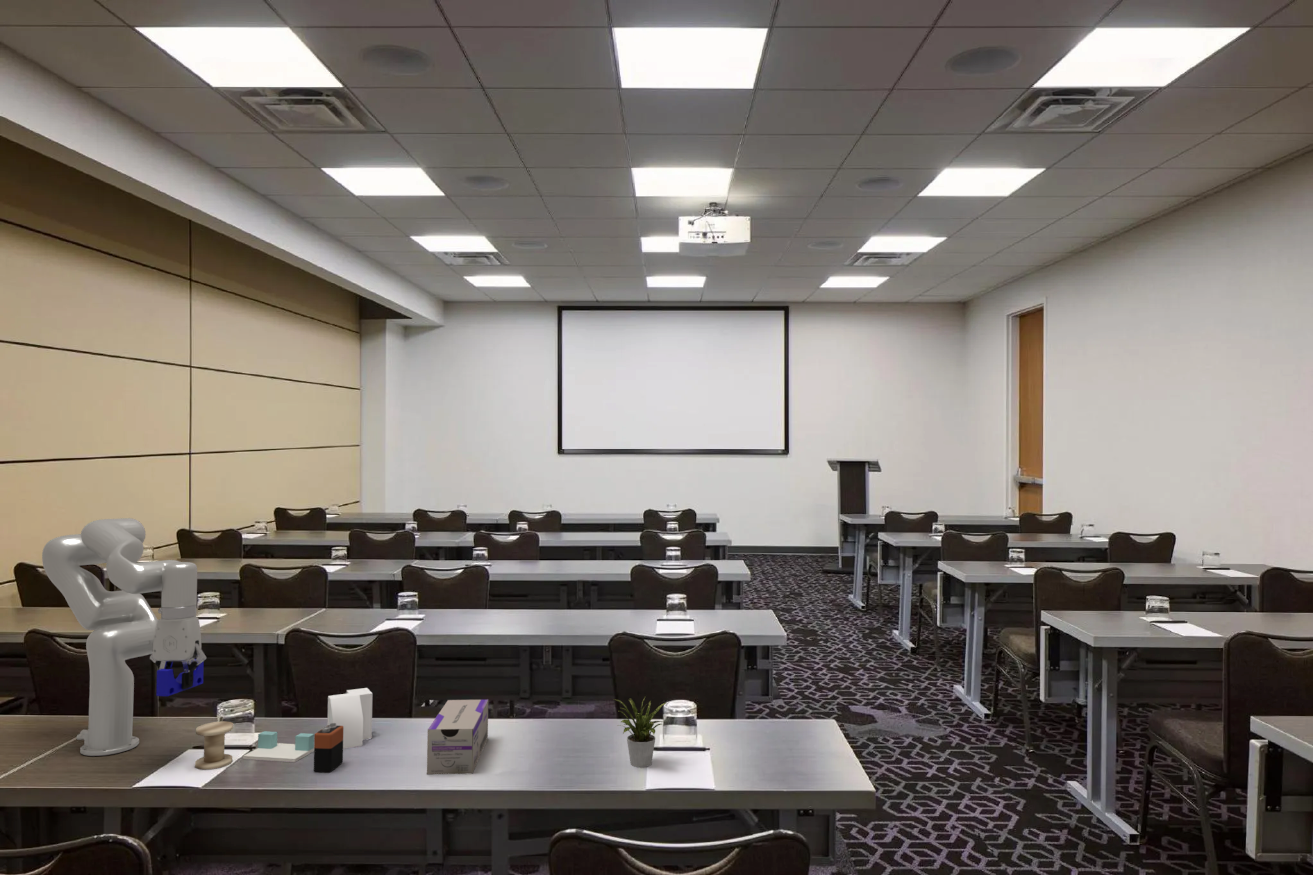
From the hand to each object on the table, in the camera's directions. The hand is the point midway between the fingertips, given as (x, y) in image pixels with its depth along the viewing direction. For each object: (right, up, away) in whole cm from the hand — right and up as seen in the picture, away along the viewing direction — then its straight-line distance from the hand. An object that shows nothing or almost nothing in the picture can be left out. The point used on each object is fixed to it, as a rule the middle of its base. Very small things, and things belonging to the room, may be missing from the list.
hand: (177, 686), depth 199 cm
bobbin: (+10, -18, -1) cm, 21 cm away
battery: (+38, -19, -3) cm, 43 cm away
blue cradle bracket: (0, -1, 0) cm, 1 cm away
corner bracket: (+36, -20, +16) cm, 44 cm away
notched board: (+23, -19, +6) cm, 30 cm away
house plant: (+113, -19, 0) cm, 114 cm away
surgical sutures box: (+68, -19, +5) cm, 71 cm away
